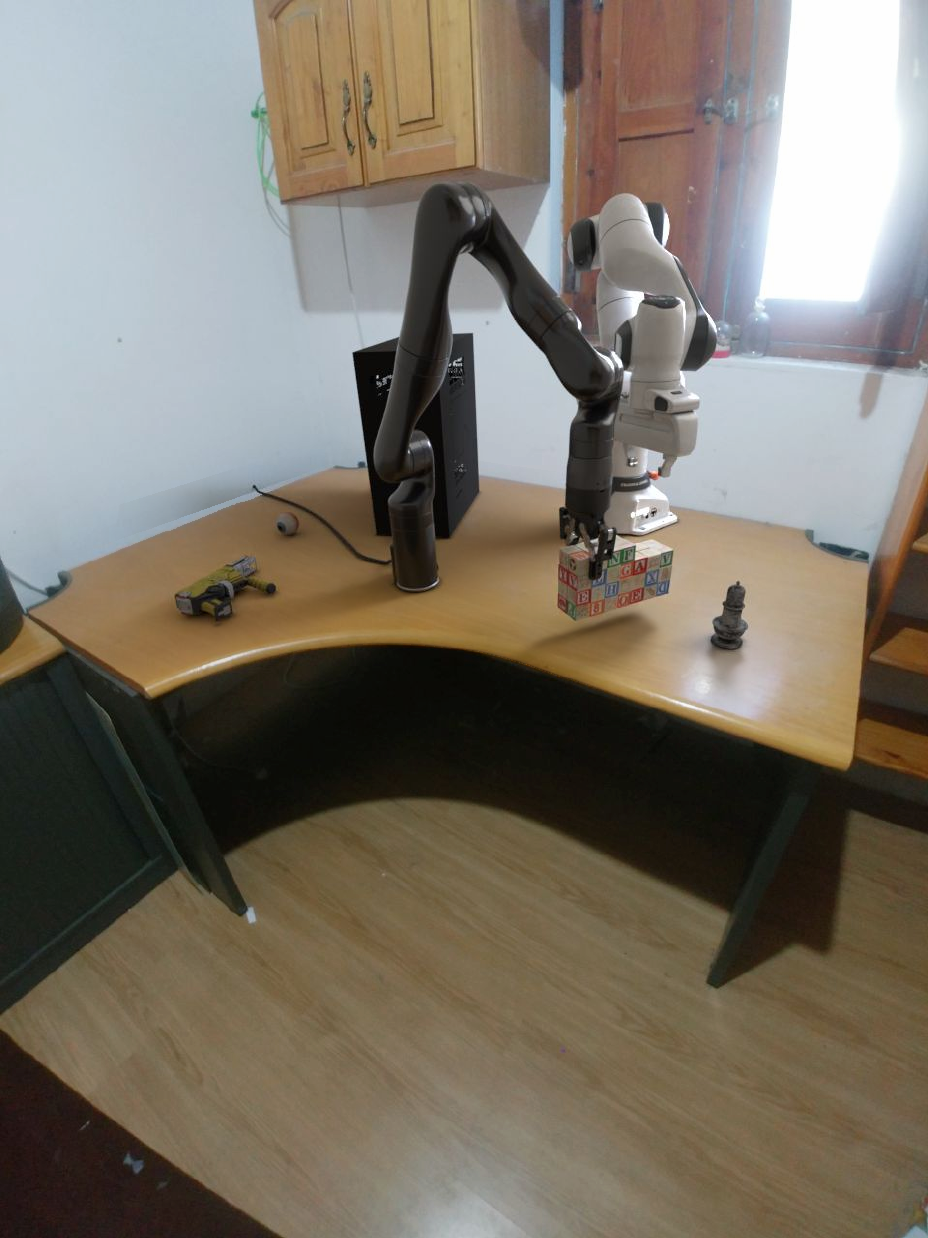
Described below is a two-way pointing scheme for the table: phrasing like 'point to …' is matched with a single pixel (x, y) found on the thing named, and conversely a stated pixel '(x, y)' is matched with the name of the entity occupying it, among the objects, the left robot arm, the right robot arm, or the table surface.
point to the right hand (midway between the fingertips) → (647, 471)
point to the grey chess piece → (731, 619)
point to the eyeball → (287, 523)
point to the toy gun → (220, 589)
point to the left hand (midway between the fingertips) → (583, 571)
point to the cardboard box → (426, 431)
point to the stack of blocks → (612, 577)
